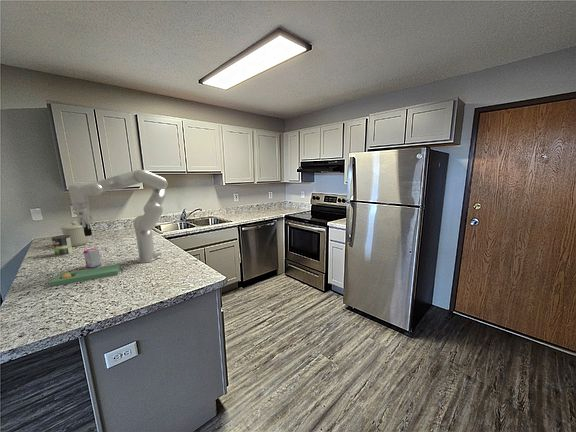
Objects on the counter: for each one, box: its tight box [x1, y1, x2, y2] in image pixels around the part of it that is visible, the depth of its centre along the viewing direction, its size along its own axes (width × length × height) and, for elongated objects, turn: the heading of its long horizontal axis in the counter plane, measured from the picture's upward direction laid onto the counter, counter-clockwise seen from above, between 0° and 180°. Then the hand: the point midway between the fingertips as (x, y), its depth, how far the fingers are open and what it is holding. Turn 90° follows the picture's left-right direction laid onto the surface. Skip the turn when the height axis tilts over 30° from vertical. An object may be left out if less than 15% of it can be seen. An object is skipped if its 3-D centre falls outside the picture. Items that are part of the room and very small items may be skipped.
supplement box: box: [83, 248, 102, 269], centre depth 156 cm, size 6×6×12 cm
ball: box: [62, 272, 72, 279], centre depth 136 cm, size 4×4×4 cm
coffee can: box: [50, 235, 74, 258], centre depth 180 cm, size 10×10×14 cm
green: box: [49, 263, 121, 287], centre depth 141 cm, size 30×12×2 cm, turn 119°
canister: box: [60, 220, 89, 247], centre depth 205 cm, size 18×18×21 cm
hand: (88, 235), depth 142 cm, fingers closed
